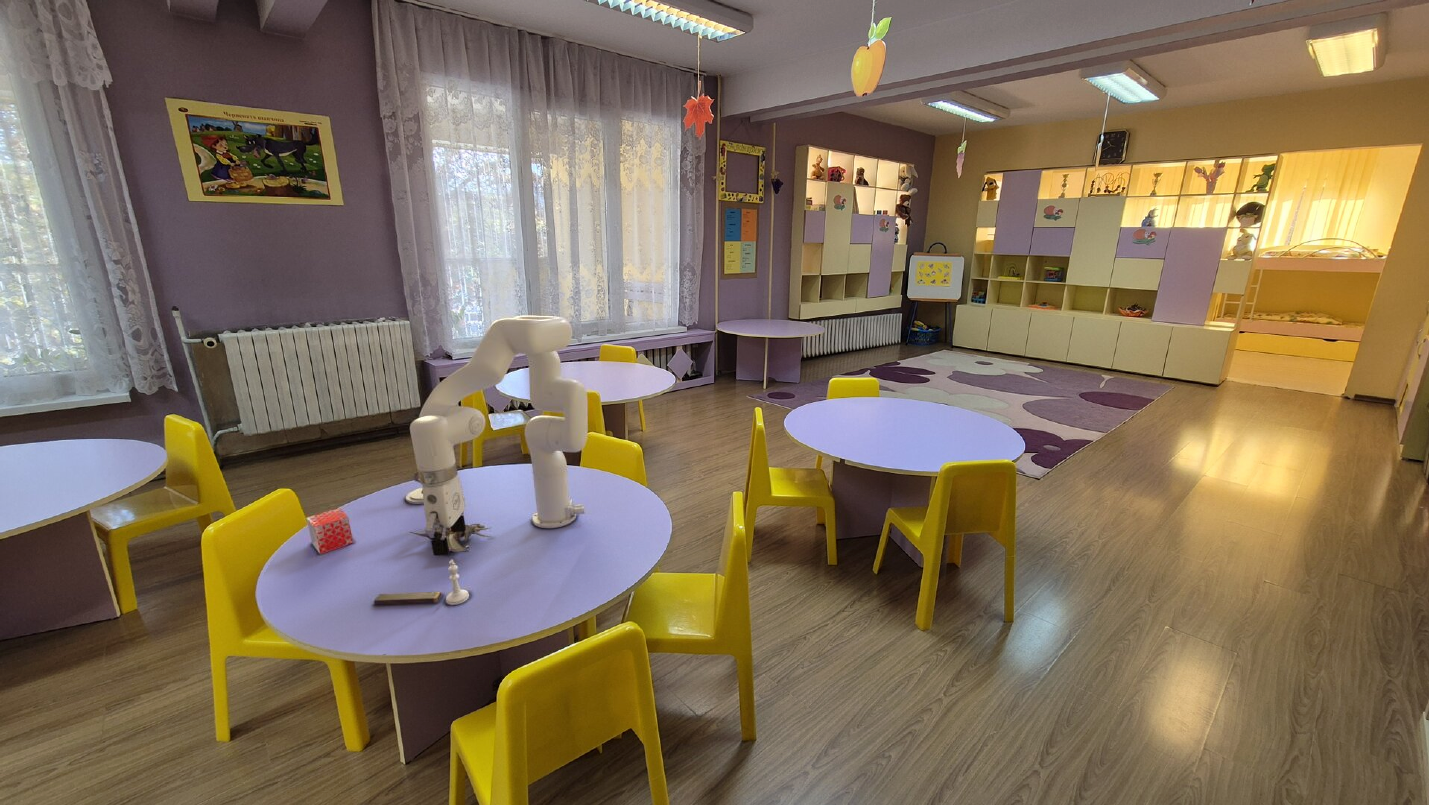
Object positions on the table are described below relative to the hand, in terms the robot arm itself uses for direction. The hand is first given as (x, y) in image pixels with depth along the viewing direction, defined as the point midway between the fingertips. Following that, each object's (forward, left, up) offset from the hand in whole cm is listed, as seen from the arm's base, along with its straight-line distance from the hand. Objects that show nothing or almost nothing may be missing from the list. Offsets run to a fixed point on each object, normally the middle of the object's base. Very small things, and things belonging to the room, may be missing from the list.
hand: (450, 542), depth 128 cm
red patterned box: (+44, -27, -14) cm, 54 cm away
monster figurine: (+31, -56, -14) cm, 66 cm away
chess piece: (0, 0, -14) cm, 14 cm away
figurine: (+10, -23, -14) cm, 29 cm away
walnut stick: (+11, +1, -14) cm, 18 cm away
